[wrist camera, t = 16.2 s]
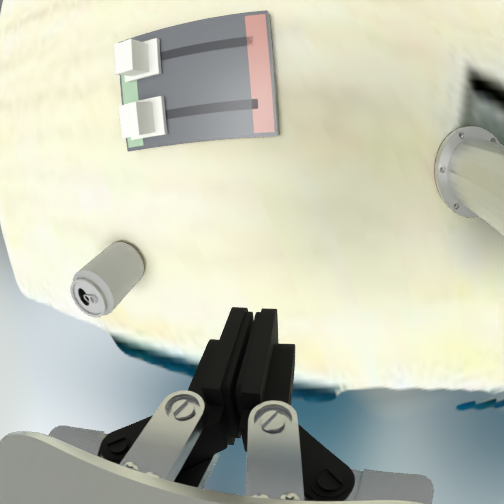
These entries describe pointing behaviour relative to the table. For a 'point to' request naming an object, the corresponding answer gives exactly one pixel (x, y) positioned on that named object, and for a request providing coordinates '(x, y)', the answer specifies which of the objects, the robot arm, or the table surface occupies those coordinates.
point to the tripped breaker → (137, 59)
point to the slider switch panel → (211, 80)
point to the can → (107, 279)
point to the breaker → (143, 118)
